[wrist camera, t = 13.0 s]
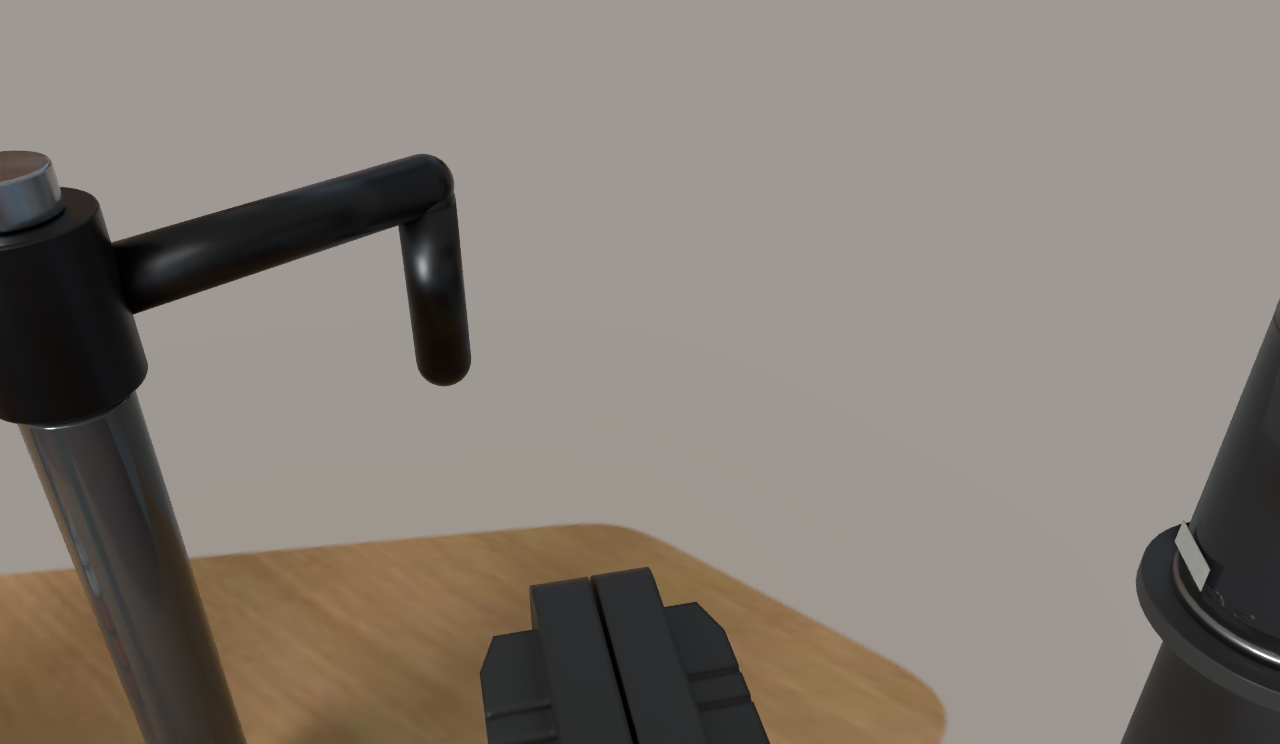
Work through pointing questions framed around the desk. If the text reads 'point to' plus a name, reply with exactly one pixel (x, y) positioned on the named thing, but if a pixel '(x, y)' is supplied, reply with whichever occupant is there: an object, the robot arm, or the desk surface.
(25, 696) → the desk surface
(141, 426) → the faucet base
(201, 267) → the spout
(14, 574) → the desk surface
